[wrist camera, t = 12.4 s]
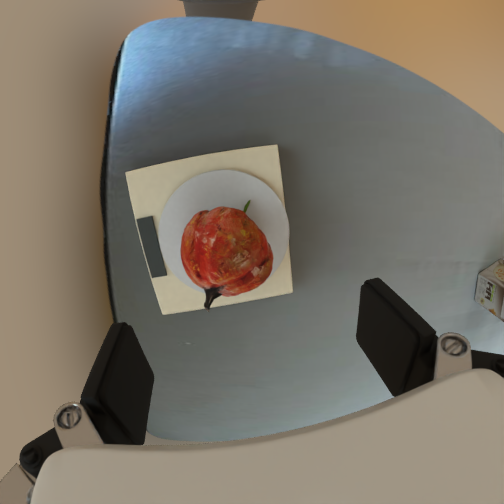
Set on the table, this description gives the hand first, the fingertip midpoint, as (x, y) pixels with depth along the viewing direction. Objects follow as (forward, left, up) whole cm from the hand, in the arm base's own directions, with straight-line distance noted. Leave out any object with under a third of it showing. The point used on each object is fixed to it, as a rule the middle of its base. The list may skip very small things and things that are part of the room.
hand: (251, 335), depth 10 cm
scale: (+1, -2, -19) cm, 19 cm away
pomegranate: (+1, -1, -15) cm, 15 cm away
